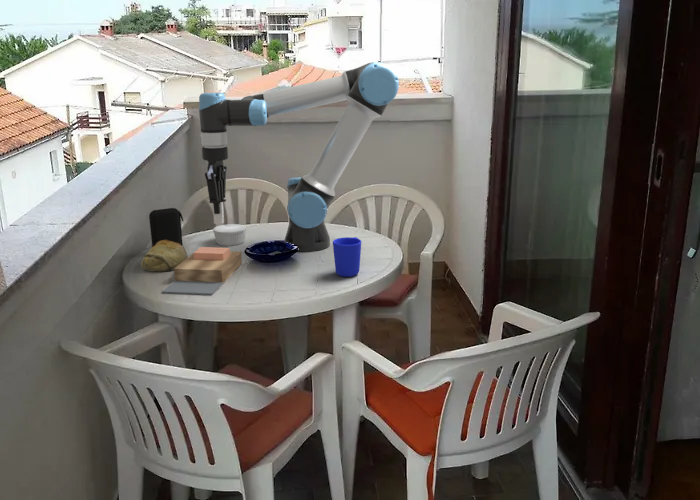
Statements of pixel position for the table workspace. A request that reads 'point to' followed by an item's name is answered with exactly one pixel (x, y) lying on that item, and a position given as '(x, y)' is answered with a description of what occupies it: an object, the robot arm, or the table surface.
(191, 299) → the table surface
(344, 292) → the table surface
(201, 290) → the mat
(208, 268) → the wooden block
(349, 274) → the blue cup
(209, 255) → the salmon pink block
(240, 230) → the ramekin
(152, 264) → the pastry
